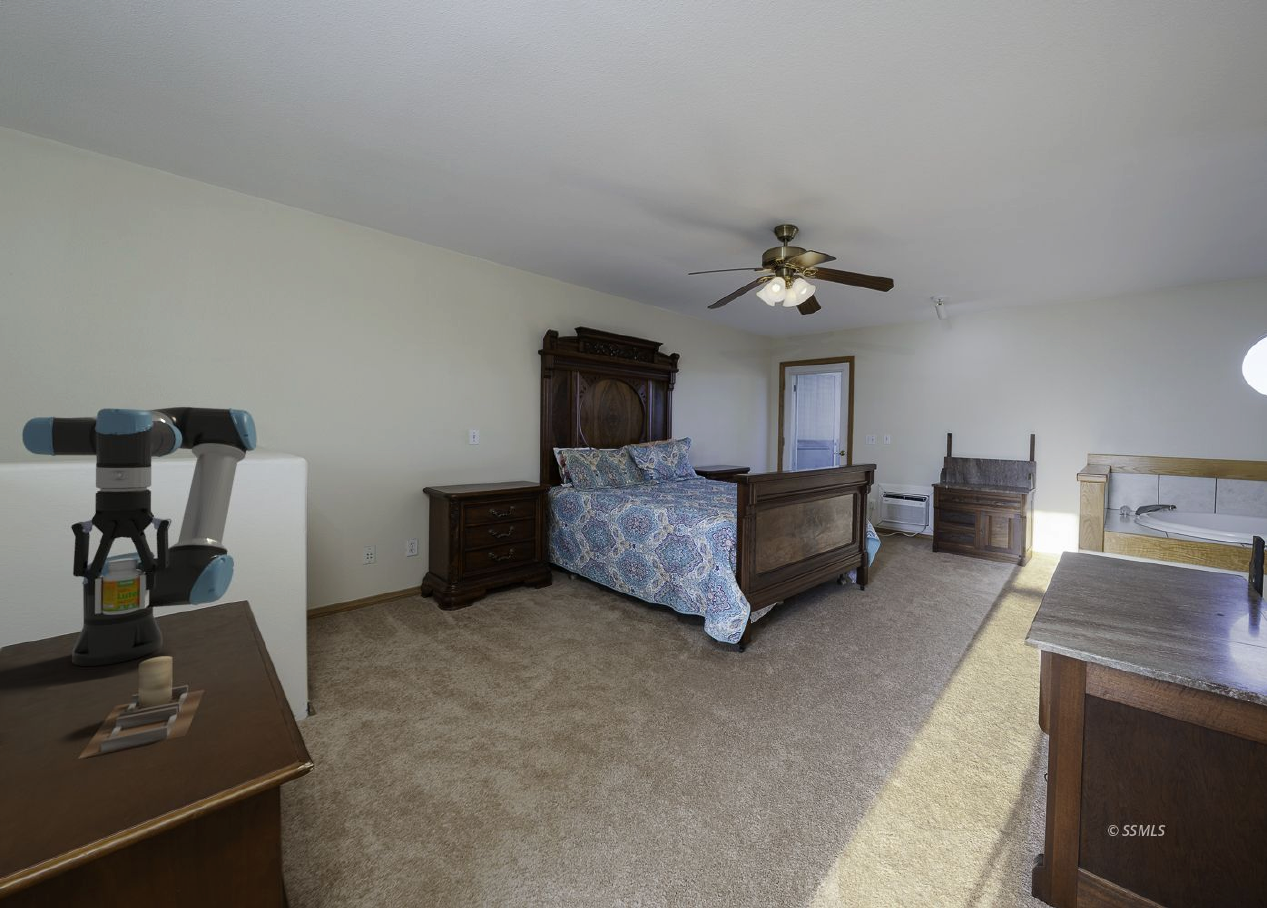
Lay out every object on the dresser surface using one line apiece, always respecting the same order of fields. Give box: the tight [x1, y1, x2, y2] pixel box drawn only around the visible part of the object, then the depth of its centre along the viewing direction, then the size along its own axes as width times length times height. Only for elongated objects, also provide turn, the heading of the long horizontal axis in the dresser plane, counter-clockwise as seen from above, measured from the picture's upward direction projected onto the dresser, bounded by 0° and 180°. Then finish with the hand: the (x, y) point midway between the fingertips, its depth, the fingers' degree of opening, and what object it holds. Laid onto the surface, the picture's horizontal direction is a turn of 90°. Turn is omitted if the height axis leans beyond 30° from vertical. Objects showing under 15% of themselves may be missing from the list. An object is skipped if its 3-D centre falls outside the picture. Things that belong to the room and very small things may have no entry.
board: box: [77, 684, 205, 760], centre depth 91 cm, size 18×13×3 cm
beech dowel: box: [138, 655, 173, 709], centre depth 95 cm, size 5×5×9 cm
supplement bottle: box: [102, 558, 142, 615], centre depth 97 cm, size 5×5×10 cm
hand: (122, 608), depth 97 cm, fingers closed on supplement bottle, 5 cm apart
